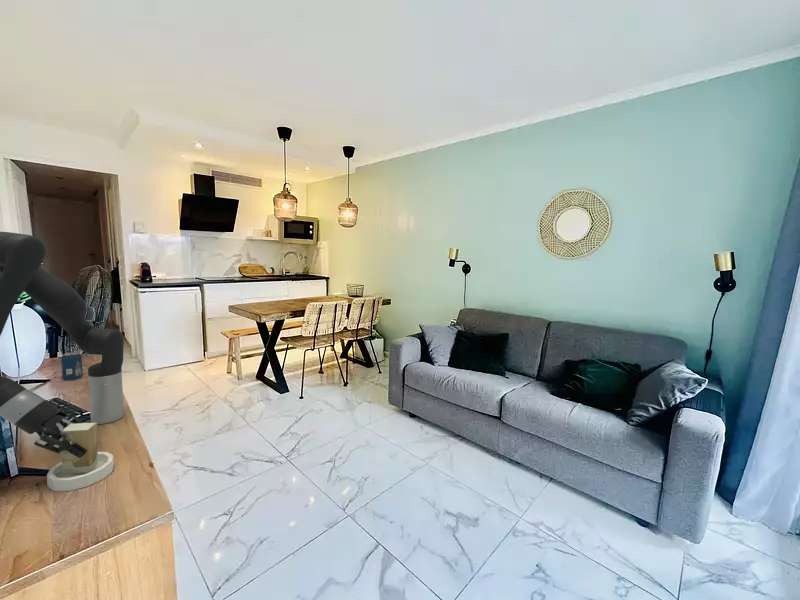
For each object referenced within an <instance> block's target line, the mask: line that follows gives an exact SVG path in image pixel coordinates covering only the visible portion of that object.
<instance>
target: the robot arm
mask: <svg viewBox="0 0 800 600" xmlns="http://www.w3.org/2000/svg"><path fill="white" fill-rule="evenodd" d="M46 253H47V250H46V245H45V244H44V242H43V241H42V239H40V238H39V237H36V236H33V235H31V234H24V233H18V232H9V231H0V272H1V275H0V337H1V336H2V333H3V331H4V329H5V325H6V324H7V321H8V318H9V316H10V315H11V312H12V310H13V309H14V306H15V305H16V303H17V302H18V300H19V299H20V297H21V295H22V294H23V292H24V293H25V294H26V295H27V296H28V297H30V298H31V299H32V300H33V301H34V302H35V303H36V304H37V305H38V307H40V309H42V310H43V311H44V312H45V313H46V314H47V315H48V316H49V317H50V318H52V319H53V320H54V321H55V322H56V323H57V324H58V325H59V326H60V327H61V328H62V329H63V330H64V331H65V332H66V333H67V334H68V336H69V337H70V338H71V339H72V340H73V342H74V343H75V344H76V345H77V347H78V348H79V349H80V350H81V351H82V352H83V353H85V354H87V355H95V356H96V355H99V356H101V360H100V362H96V363H94V364H92V365H89V366H88V368H87V378H88V396H89V412H90V423H97V425H104V424H109V423H110V424H111V423H112V422H116V421H118V420H120V419H122V418H124V414H125V413H124V395H123V394H124V391H123V389H124V388H123V373H122V372H123V371H122V370H123V369H122V367H123V363H124V347H125V346H124V341H125V340H124V335H123V334H122V333H123V332H121V331H120V330H119V329H115V328H98V327H95V326H93V325H92V324H91V323H90V322H89V321H88V320H87V319H86V315H87V304H86V301H85V300H84V298H83V297H82V296H81V295H80V294H79V293H78V292H77V290H75V289H74V288H73V287H72V286H71V285H70V284H69V283H67V282H65V281H63V280H62V279H60V278H58V277H57V276H55V275H53V274H51V273H50V272H48V271H46V270H44V269H43V268H41V265H42V264H43V261H44V260H45V257H46ZM60 410H61V409H60V408H58V407H57V406H55V405H54V404H52V403H51V402H49V401H48V400H47V399H44V398H43V397H42V396H41V395H39V394H37V393H35V392H33V391H31V390H30V389H28V388H26V387H25V386H23V385H21V384H20V383H19V382H17V381H15V380H13V379H12V378H10V377H7V376H2V375H0V416H1V417H2V418H3V419H4V420H5V421H7V422H9V423H11V424H12V425H14V426H15V427H17V428H19V429H20V430H22V431H24V432H25V433H26V434H28V435H32V434H34V433H36V434H37V436H39V438H38V439H37V440H36V441H35V442H34V443H33V444H34V445H35V446H36V447H38V448H42V449H44V450H47V451H50V452H53V453H55V454H61V453H62V451H68V452H70V453H71V454H73V455H75V456H76V457H78V458H81V457H82V456H83V455H84V454H86V452H87V450H86V449H84V448H83V447H81V446H80V445H78V444H77V443H75V444H74V442H73V441H72V440H71V439H70V438H69V435H68V434H66V433H65V432H63V430H64V428H66V427H67V426H69V425H70V424H77V423H84V422H83V421H82V420H80V418H79V417H78V416H77V415H76V414H74V413H70V414H69V415H68V416H63V415H60V414H59V413H60V412H61V411H60ZM61 437H62V438H61ZM63 441H65V442H66V443H65V442H63ZM57 446H58V447H57Z"/></svg>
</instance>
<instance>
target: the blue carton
mask: <svg viewBox="0 0 800 600" xmlns="http://www.w3.org/2000/svg"><path fill="white" fill-rule="evenodd" d="M60 358H61V359H60V360H61V363H60V364H61V374H62V376H61V377H62V379H63V380H64V381H68V382H69V380H70V381H76V380H79V379H81V378H82V377H83V373H84V372H83V359H82V358H83V357H82V355H81V353H80V352H79V351H72V352H71V351H69V352H66V353H63V354H62V356H61V357H60Z"/></svg>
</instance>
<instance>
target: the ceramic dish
mask: <svg viewBox="0 0 800 600" xmlns="http://www.w3.org/2000/svg"><path fill="white" fill-rule="evenodd" d="M97 457H98V463H97V464H96V465H95V466H94V467H93V468H92V469H91V470H90V471H89V472H81V473H68V474H62V461H60V462H59V463H57V464H55V465H54V466H53V467H51V468H50V469H49V470H48V472H47V474H46V482H47V483H46V484H47V488H49V489H50V490H52V491H53V492H70V491H74V490H78V489H82V488H86V487H89V486H91V485H93V484H96V483H98V482H100V481H103V479H105V478H107V476H109V475H110V474H111V473H112V472H113V469H114V465H115V464H114V463H115V462H114V455H113V454H111V453H110V452H108V451H97Z"/></svg>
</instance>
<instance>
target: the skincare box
mask: <svg viewBox="0 0 800 600" xmlns="http://www.w3.org/2000/svg"><path fill="white" fill-rule="evenodd" d="M63 432H65V433H66V434H68V435H69V438H70V439H71V440H72V441H73V442H74V444H75V443H77V444H78V445H80V446H81V447H83V448H84V449H86V450H87V452H86V454H84V455H83V456H82V457H81V458H78V457H76V456H75V455H73V454H71V453H70V452H68V451H62V452H61V462H62V474H68V473H81V472H89V471H90V470H91V469H92V468H93V467H94V466H95V465H96V464H97V463H98V457H97V452H98V424H97V423H91V422H83V423H77V424H70V425H69V426H67V427H66V428H64V430H63ZM61 438H62V437H61ZM63 442H65V441H63ZM65 443H66V442H65Z"/></svg>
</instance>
